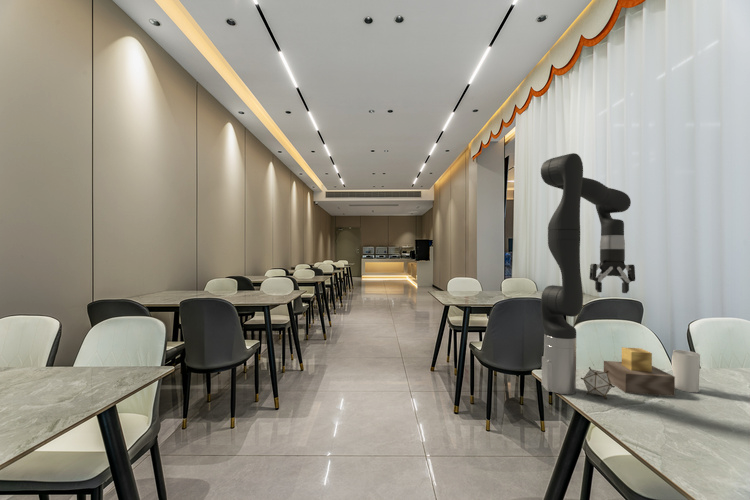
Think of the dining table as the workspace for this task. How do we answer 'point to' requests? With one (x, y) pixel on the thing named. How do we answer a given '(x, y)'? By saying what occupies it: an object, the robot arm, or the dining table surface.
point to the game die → (597, 382)
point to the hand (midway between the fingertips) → (611, 292)
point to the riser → (640, 380)
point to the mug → (686, 370)
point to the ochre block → (637, 359)
